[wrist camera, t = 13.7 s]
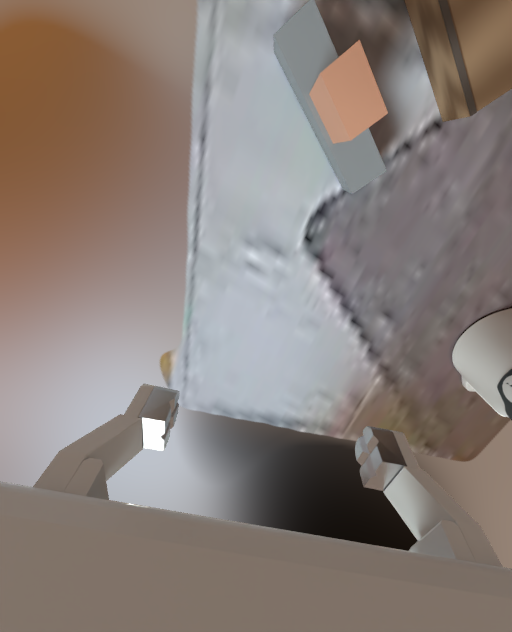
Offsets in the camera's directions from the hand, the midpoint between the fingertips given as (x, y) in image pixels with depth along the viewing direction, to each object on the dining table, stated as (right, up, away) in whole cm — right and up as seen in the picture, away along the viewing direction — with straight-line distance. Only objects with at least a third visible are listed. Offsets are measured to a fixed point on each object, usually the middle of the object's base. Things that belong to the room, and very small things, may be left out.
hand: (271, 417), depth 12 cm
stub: (+7, +27, +19) cm, 34 cm away
